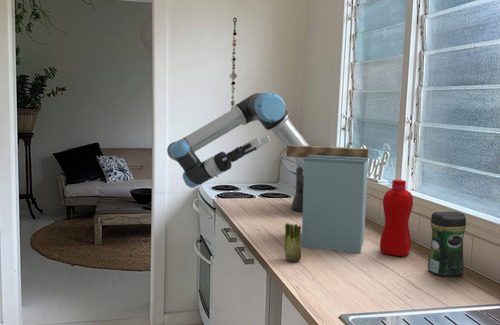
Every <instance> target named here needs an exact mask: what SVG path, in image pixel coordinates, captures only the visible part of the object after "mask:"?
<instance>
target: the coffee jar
mask: <svg viewBox="0 0 500 325" xmlns="http://www.w3.org/2000/svg"><path fill="white" fill-rule="evenodd" d="M430 217H431V218H430V228H431V242H430V250H429V256H428V261H427V269H428V270H429V272H430V273H432V274H433V275H439V276H440V277H452V276H453V277H454V276H461V275H462V274H463V273H464V266H465V265H464V235H465V231H466V229H467V218H466V215H465V214H464V213H462V212H459V211H436V212H435V211H433V213H432V214H431V216H430Z"/></svg>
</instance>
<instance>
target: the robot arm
mask: <svg viewBox="0 0 500 325" xmlns="http://www.w3.org/2000/svg"><path fill="white" fill-rule="evenodd" d="M255 121H258V122H259V123H260V124H261V125H262V126H263V127H264V128H265V130H266V131H271V132H272V133H273V134H274V135H275V137H276V138H277V139H278V141H280V143H281V144H282V145H283V147H284V148H285V149H286V150H287V146H288V145H300V146H310V145H309V143H308V142H307V141H306V139H305V138H304V137H303V136H302V134H301V133H300V132H299V130H298V129H297V128H296V126H294V124H293V123H292V121H291V120H290V119H289V112H288V110H287V109H286V103H285V101H284V99H283V98H282V97H281V96H280V95H279V94H276V93H274V92H257V93H252V94H251V95H249V96H247V97H246V98H244V99H243V100H241V101H239V102H238V103H236V104H235V105H233V107H232V109H230V110H229V111H227V112H225V113H224V114H222V115H220V116H218V117H217V118H215V119H214V120H211V121H210V122H208V123H207V124H205V125H203V126H202V127H200V128H198V129H196V130H195V131H193V132H191V133H190V134H187V135H186V136H184V137H182V138H181V139H179V140H177V141H172V142H171V143H170V144H168V146H167V149H166V152H167V155H168V157H169V158H170V159H171V160H173V161H175V162H177V163H178V164H179V166H181V167H180V168H182V170H183V171H184V172H182V179H183V181H184V183H185V185H186V186H187V187H188V188H192V189H193V188H195V187H198V186H201V185H203V184H204V183H206V182H208V181H210V180H211V179H213V178H215V177H216V178H218V177H219V175H221V174H222V173H225V172H227V171H228V170H231V169H232V165H233V164H232V163H234V162H236V161H238V160H240V159H241V158H243V157H244V156H246V155H248V154H250V153H252V152H255V151H257V150H258V149H260V148H261V147H265V145H267V144H269V143H271V142H272V141H271V138H270V137H269V135H266V136H263V137H262V138H261V139H259V137H255V138H253V139H251V140H249V141H248V142H245V143H244V144H242V145H240V146H237V147H236V148H234V149H232V150H231V151H229V152H227V153H226V152H225V151H220V152H218V153H216V154H214V155H213V156H211V157H209V158H206V159H205V160H204V161H201V159H199V157H198V156H197V154H196V153H195V152H197V151H199V150H200V149H202V148H204V147H206V146H207V145H209V144H210V143H212V142H213V141H216V140H217V139H219V138H221V137H223V136H224V135H227V133H229V132H230V131H233V130H234V129H236V128H237V127H240V126H241V125H242V126H245V125H247V124H249V123H252V122H255ZM292 158H293V159H294V160H295V162H297V163H296V169H295V170H296V173H295V174H296V175H295V176H296V178H295V194H294V197H293V199H292V202H291V210H292V211H296V212H299V213H301V212H302V213H303V187H304V158H303V157H292Z"/></svg>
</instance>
